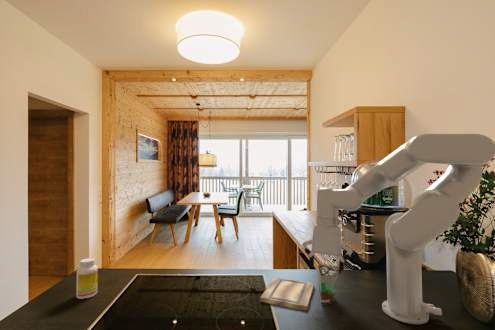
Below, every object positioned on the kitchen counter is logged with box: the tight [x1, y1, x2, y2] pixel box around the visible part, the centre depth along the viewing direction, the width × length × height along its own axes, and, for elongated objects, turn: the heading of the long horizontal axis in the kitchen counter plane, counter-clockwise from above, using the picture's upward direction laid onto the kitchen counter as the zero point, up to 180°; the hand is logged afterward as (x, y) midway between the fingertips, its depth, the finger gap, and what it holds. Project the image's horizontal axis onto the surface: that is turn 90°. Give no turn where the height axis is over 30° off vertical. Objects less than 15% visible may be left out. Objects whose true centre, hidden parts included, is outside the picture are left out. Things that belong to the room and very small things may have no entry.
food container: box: [318, 263, 339, 305], centre depth 90 cm, size 12×6×10 cm, turn 168°
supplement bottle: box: [75, 257, 99, 300], centre depth 93 cm, size 7×7×13 cm
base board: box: [259, 277, 315, 311], centre depth 93 cm, size 16×18×2 cm
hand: (326, 269), depth 90 cm, fingers open, 9 cm apart
